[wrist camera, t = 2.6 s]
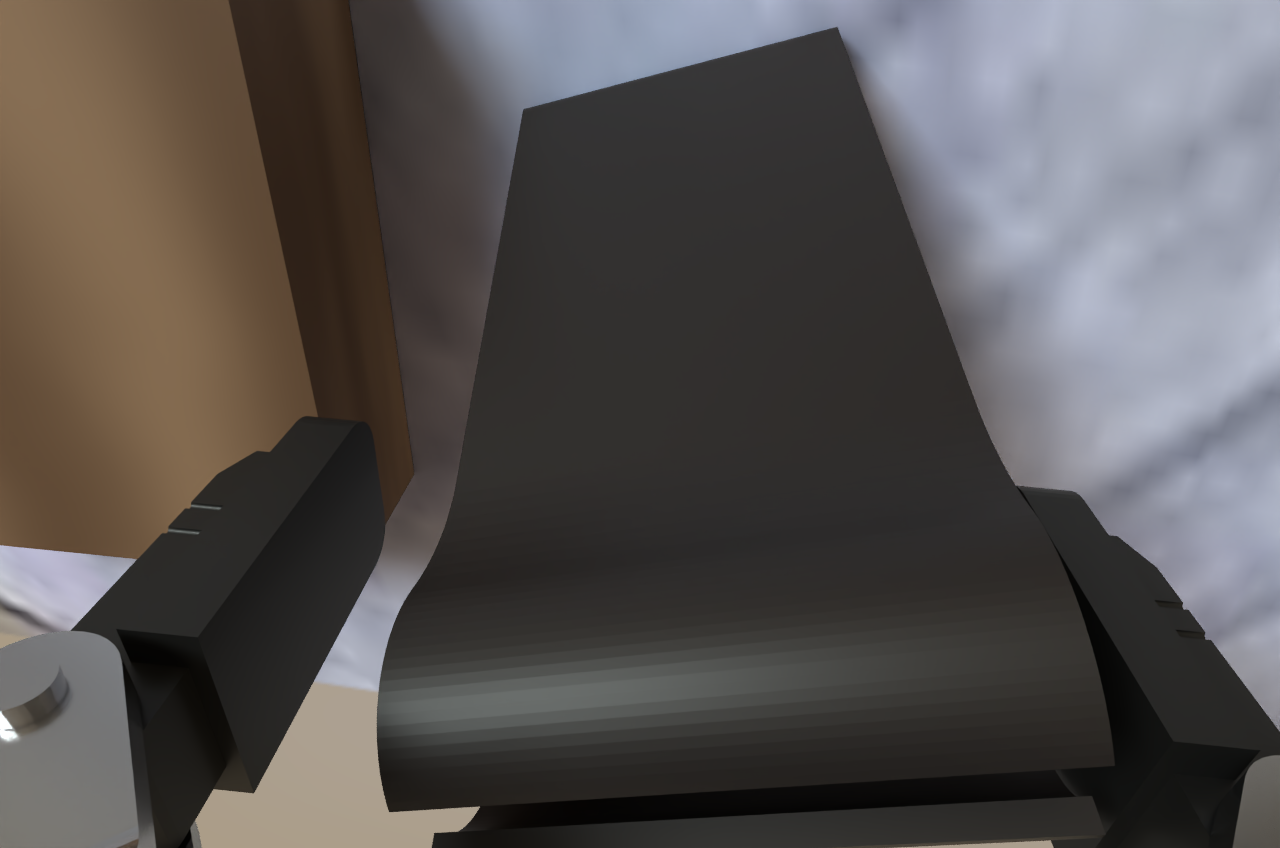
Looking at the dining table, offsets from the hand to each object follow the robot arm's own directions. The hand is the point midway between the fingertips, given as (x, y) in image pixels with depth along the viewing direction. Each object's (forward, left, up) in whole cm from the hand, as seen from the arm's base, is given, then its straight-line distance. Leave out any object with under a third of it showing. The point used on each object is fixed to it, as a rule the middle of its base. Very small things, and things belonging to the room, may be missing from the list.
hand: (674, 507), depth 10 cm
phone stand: (-1, 0, -8) cm, 8 cm away
